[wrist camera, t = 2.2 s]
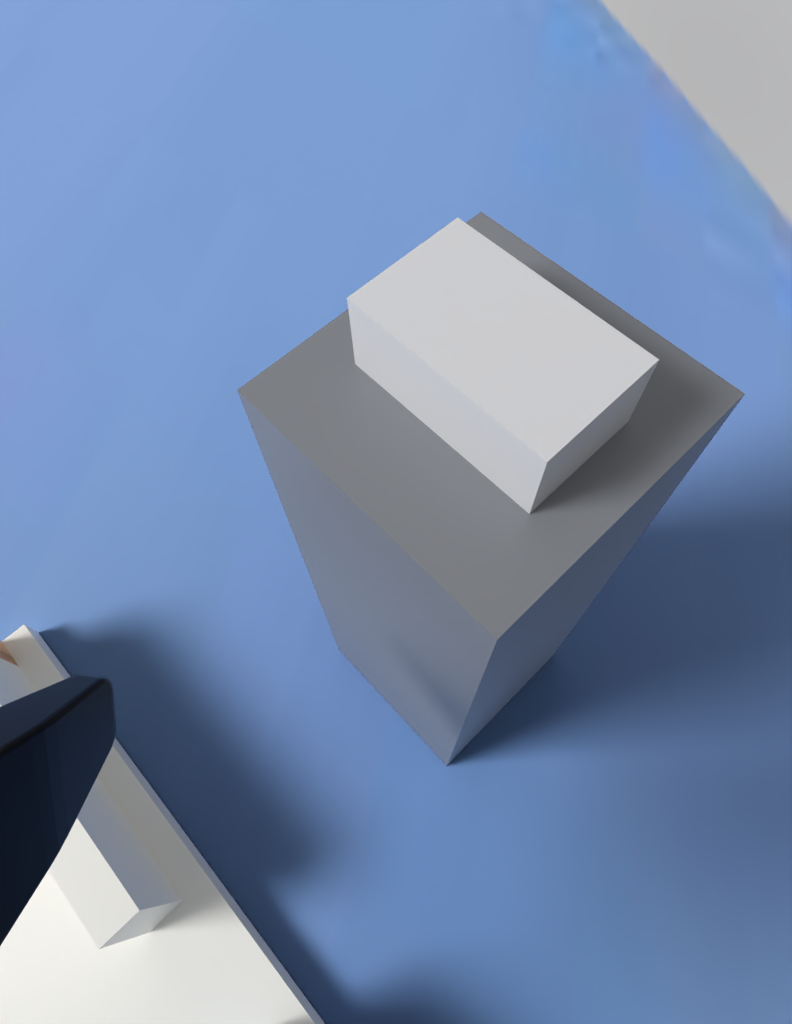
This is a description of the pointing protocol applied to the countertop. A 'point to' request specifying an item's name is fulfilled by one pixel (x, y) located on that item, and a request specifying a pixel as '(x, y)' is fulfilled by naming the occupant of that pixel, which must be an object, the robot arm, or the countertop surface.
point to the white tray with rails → (131, 910)
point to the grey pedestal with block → (474, 465)
